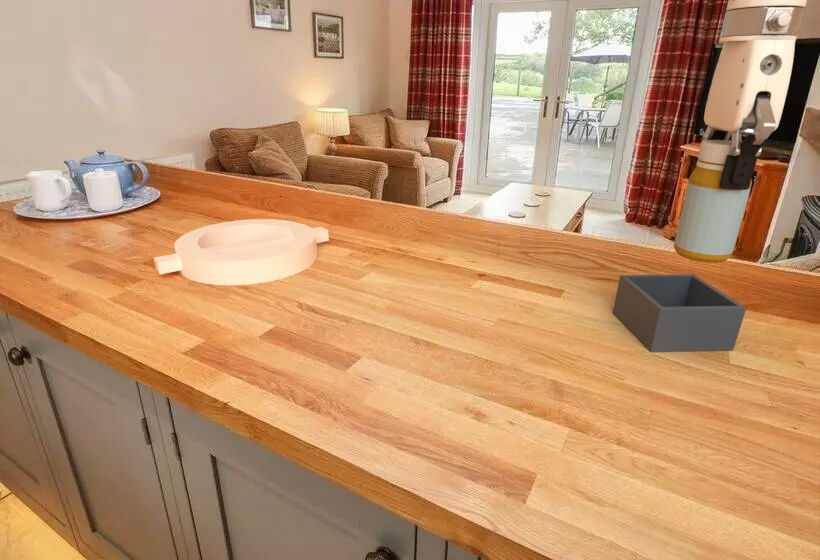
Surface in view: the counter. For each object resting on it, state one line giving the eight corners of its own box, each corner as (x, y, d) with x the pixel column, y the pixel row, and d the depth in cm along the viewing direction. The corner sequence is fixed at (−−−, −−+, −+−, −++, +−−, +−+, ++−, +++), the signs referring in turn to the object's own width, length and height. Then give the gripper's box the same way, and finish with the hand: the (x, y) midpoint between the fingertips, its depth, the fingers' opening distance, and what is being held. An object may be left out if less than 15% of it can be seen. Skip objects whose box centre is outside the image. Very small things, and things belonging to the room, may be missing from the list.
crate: (684, 311, 84) (694, 274, 81) (733, 350, 72) (746, 307, 69) (612, 313, 83) (619, 274, 80) (650, 352, 71) (660, 309, 69)
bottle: (699, 266, 64) (729, 147, 58) (661, 248, 70) (685, 140, 64) (743, 261, 65) (777, 146, 59) (702, 245, 71) (729, 138, 66)
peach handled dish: (332, 241, 115) (331, 222, 113) (289, 290, 90) (287, 265, 88) (220, 235, 119) (217, 216, 117) (148, 280, 93) (143, 256, 91)
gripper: (844, 21, 48) (788, 199, 55) (757, 34, 64) (722, 171, 71) (761, 21, 49) (716, 196, 56) (695, 34, 65) (667, 169, 72)
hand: (720, 181), depth 63 cm, fingers closed on bottle, 7 cm apart
